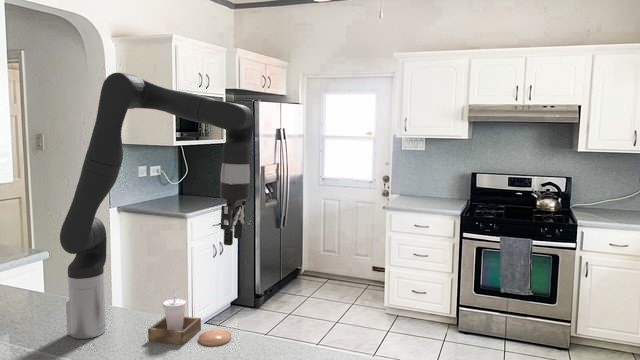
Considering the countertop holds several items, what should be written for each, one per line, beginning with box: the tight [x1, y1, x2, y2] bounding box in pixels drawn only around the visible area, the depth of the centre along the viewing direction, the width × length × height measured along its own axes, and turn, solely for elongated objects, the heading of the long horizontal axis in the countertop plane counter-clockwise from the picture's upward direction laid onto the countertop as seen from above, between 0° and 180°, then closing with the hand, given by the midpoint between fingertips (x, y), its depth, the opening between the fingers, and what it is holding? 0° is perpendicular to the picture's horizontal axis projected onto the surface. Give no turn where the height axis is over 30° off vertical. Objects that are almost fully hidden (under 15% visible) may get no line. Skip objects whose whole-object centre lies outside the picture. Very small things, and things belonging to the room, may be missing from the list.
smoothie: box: [162, 287, 187, 331], centre depth 142 cm, size 6×6×14 cm
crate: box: [147, 316, 202, 346], centre depth 142 cm, size 11×11×4 cm
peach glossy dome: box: [198, 329, 233, 347], centre depth 140 cm, size 9×9×1 cm
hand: (233, 241), depth 133 cm, fingers open, 8 cm apart
